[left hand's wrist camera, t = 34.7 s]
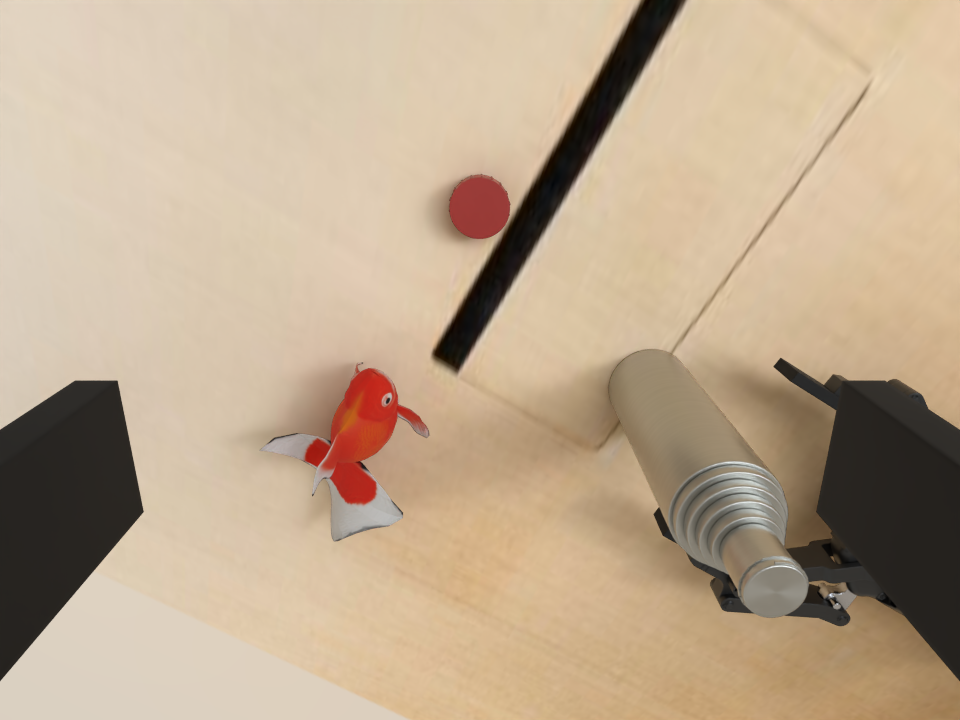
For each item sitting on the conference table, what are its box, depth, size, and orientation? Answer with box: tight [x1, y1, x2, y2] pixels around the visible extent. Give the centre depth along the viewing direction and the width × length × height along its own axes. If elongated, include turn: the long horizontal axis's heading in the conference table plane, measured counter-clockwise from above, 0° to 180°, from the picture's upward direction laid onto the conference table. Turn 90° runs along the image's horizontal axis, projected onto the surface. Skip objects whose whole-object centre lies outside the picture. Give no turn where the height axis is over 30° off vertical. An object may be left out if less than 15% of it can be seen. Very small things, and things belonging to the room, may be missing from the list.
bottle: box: [609, 349, 809, 618], centre depth 40 cm, size 6×6×24 cm
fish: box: [259, 363, 429, 541], centre depth 49 cm, size 11×16×10 cm
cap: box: [449, 174, 510, 239], centre depth 46 cm, size 4×4×2 cm
